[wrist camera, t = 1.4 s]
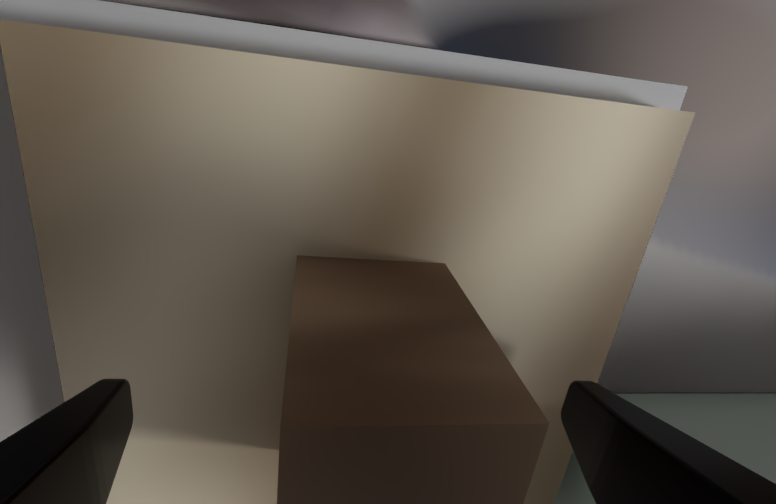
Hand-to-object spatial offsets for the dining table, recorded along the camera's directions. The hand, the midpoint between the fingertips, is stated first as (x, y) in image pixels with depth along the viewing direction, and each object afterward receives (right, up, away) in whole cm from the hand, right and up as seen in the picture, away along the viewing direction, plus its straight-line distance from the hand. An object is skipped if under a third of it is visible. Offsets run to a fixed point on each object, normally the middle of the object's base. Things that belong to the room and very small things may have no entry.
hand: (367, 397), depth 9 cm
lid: (0, +1, +2) cm, 2 cm away
